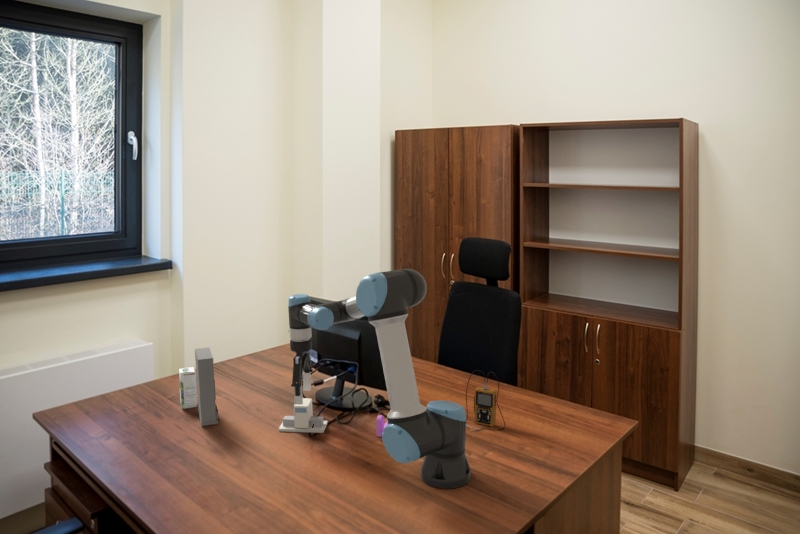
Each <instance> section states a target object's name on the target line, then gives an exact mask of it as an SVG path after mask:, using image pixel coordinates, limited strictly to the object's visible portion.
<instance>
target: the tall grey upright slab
mask: <svg viewBox="0 0 800 534" xmlns="http://www.w3.org/2000/svg"><path fill="white" fill-rule="evenodd" d="M194 359H195V374H196V394H197V407H198V408H197V412H198V416H199V417H198V418H199V423H200V426H201V427H205V426H213V425H218V424H219V409H218V407H217V404H216V403H217V402H216V400H217V398H216V383H215V382H216V380H215V369H214V357H213V354H212V351H211V349H210V347H203V348H201V347H200V348H194Z"/></svg>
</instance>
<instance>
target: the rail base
mask: <svg viewBox="0 0 800 534" xmlns="http://www.w3.org/2000/svg"><path fill="white" fill-rule="evenodd" d="M313 424H314V427H313V428H312V426H313ZM327 426H328V420H324V416H313V417H311V418H310V420H309V428H295V427H294V415H285V416H284V417H283V418H282V422H281V424H280V425H279V427H278V430H277V431H278V432H283V433H284V432H286V433H289V432H290V433H292V432H293V433H315V434H316V433H318V434H319V433H320V434H324V432H325V431H326V428H327Z"/></svg>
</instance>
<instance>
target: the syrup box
mask: <svg viewBox="0 0 800 534" xmlns="http://www.w3.org/2000/svg"><path fill="white" fill-rule="evenodd" d="M178 375H179V377H178V379H179V401H180V407H181V410H183V409H184V410H186V409H192V408H197V407H198V394H197V377H196V368H195V367H183V368H179V369H178Z"/></svg>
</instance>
